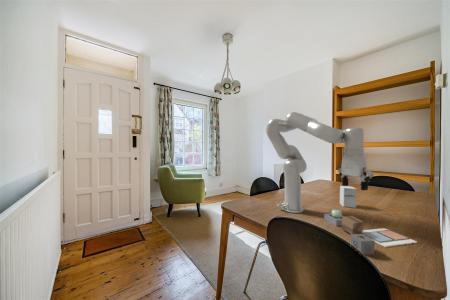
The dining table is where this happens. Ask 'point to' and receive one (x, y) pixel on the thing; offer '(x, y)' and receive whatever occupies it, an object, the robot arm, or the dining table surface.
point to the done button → (336, 214)
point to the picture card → (387, 237)
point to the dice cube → (363, 243)
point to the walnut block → (352, 225)
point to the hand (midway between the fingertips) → (354, 187)
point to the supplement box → (348, 196)
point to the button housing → (333, 220)
